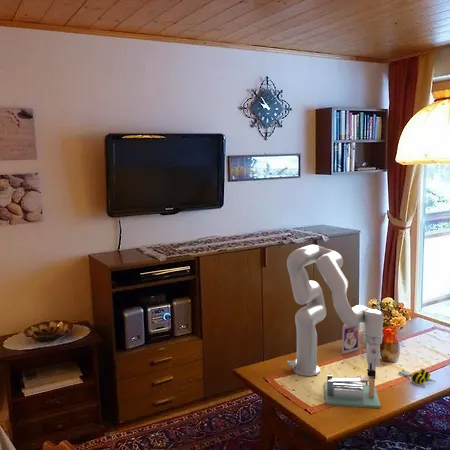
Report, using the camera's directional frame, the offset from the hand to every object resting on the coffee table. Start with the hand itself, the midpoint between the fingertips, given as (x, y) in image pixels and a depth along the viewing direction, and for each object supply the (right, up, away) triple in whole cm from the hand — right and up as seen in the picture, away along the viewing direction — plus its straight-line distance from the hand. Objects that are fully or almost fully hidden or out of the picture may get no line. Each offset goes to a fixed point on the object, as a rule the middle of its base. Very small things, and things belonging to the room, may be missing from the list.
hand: (371, 378), depth 219 cm
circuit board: (-10, -7, -3) cm, 12 cm away
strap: (-11, -1, -3) cm, 12 cm away
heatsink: (-12, -6, -3) cm, 14 cm away
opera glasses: (+26, -4, +10) cm, 28 cm away
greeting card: (0, +1, +46) cm, 46 cm away
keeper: (-3, -6, -4) cm, 8 cm away
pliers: (+24, -4, +12) cm, 27 cm away
